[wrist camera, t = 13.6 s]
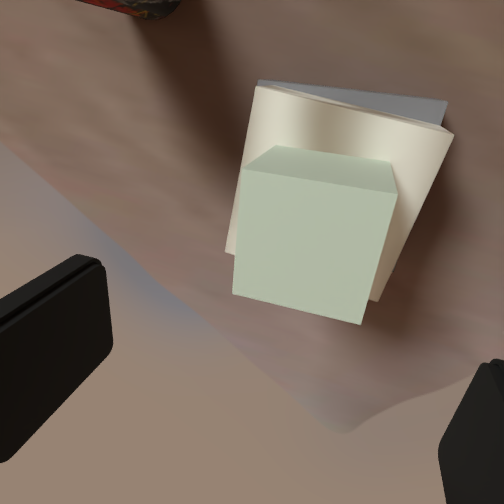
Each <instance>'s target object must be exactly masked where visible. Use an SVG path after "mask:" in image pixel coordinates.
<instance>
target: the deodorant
mask: <svg viewBox="0 0 504 504" xmlns="http://www.w3.org/2000/svg"><path fill="white" fill-rule="evenodd" d="M77 1H81V2H84V3H88V4H92V5H95V6H99V7H103V8H106V9H110V10H114V11H117V12H121V13H125V14H128V15H132V16H136V17H140V18H143V19H149V20H157V19H160V18H163V17H166V16H167V15H169V14H170V13H171V12H173V11H174V10H175V8H176V7H177V6H178V4H179V3H180V2H181V0H77Z"/></svg>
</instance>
